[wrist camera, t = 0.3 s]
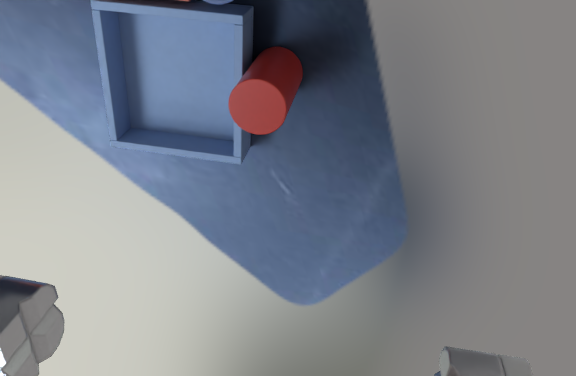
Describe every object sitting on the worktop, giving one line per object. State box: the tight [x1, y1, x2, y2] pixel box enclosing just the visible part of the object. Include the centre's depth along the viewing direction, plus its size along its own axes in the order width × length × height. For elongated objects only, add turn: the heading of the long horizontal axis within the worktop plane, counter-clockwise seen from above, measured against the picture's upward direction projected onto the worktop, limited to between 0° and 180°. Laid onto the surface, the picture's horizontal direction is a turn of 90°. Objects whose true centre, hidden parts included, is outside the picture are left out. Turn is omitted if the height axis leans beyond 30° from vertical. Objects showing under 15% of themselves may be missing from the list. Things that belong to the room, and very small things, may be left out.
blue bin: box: [90, 0, 254, 164], centre depth 36 cm, size 11×10×3 cm
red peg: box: [228, 47, 303, 135], centre depth 33 cm, size 4×4×7 cm
